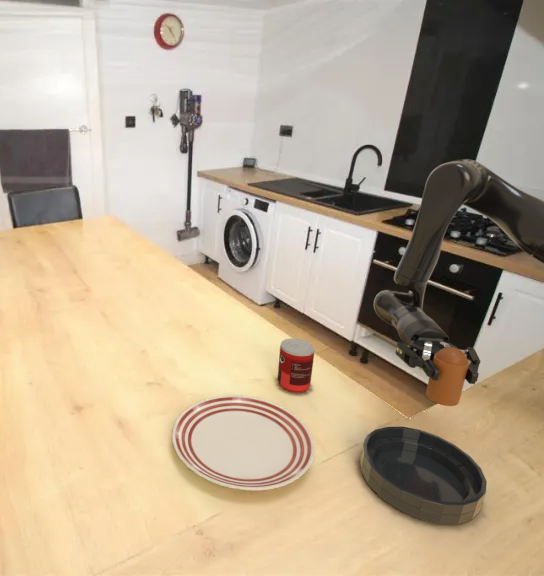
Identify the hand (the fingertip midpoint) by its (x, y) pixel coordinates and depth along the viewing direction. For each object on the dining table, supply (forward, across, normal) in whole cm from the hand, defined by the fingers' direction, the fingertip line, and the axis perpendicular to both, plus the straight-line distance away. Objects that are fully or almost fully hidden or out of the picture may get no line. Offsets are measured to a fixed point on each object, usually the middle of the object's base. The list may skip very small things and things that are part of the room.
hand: (455, 377), depth 72 cm
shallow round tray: (+7, -6, +17) cm, 20 cm away
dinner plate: (+5, -36, +18) cm, 41 cm away
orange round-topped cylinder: (-3, 0, +6) cm, 7 cm away
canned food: (-20, -25, +18) cm, 36 cm away
